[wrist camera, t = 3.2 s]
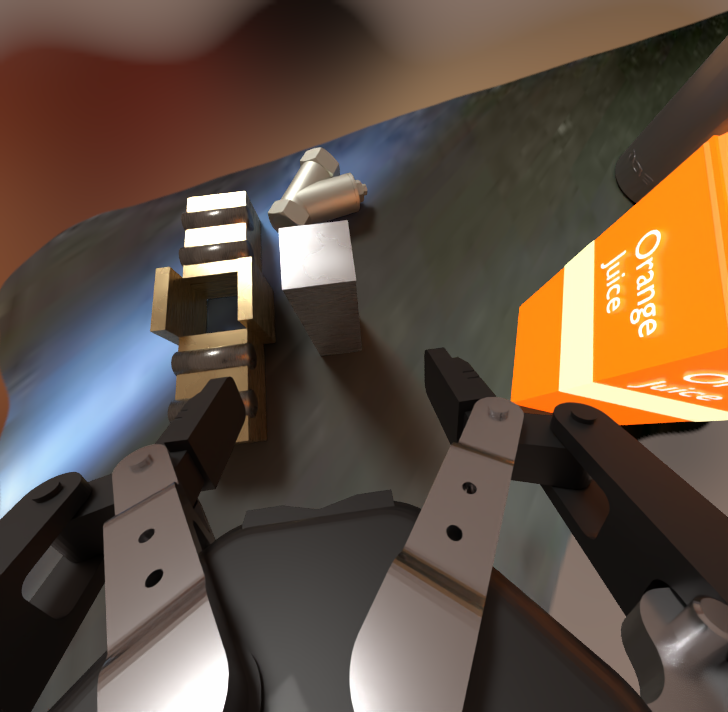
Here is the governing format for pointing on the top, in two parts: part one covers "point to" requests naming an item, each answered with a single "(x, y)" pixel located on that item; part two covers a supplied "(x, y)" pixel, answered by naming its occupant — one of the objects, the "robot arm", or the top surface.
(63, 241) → the top surface
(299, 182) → the pipe fitting
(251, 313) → the gold block with rollers
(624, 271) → the orange juice
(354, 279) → the square grey block
